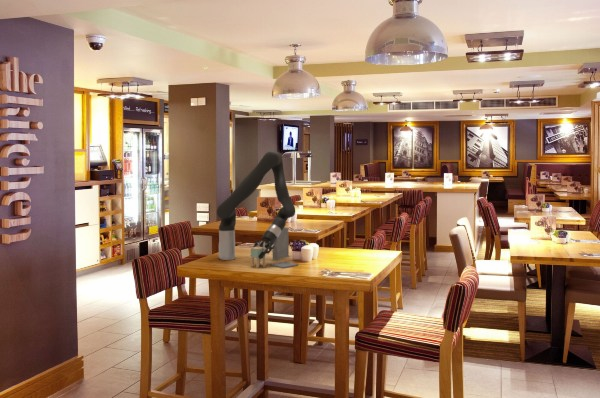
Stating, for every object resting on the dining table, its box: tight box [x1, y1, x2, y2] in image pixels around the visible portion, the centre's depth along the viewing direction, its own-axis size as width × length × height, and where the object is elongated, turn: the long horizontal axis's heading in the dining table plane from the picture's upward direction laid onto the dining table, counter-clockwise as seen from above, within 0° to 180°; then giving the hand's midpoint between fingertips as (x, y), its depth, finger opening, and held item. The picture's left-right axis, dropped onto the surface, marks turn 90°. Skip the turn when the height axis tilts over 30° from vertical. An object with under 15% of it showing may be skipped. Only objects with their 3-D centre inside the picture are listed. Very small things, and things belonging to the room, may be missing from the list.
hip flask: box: [271, 226, 290, 261], centre depth 368 cm, size 16×4×20 cm, turn 152°
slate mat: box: [269, 261, 299, 269], centre depth 344 cm, size 11×11×1 cm
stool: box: [250, 246, 266, 269], centre depth 342 cm, size 6×6×11 cm
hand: (255, 257), depth 341 cm, fingers open, 6 cm apart
